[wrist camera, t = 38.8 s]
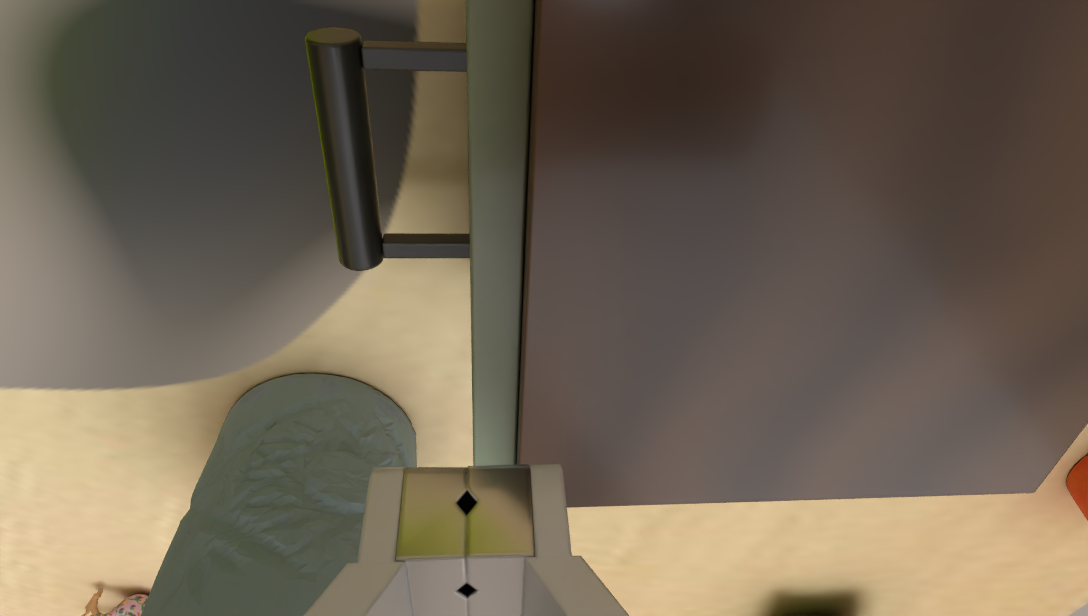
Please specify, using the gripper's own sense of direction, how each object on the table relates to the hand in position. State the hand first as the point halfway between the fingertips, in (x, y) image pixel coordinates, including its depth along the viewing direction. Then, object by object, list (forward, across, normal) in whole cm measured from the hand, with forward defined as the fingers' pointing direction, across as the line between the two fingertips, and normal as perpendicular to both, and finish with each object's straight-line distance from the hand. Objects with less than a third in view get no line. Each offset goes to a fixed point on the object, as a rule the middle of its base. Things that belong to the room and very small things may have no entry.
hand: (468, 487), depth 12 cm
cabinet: (+16, -9, +1) cm, 18 cm away
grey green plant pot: (+15, +7, +17) cm, 24 cm away
